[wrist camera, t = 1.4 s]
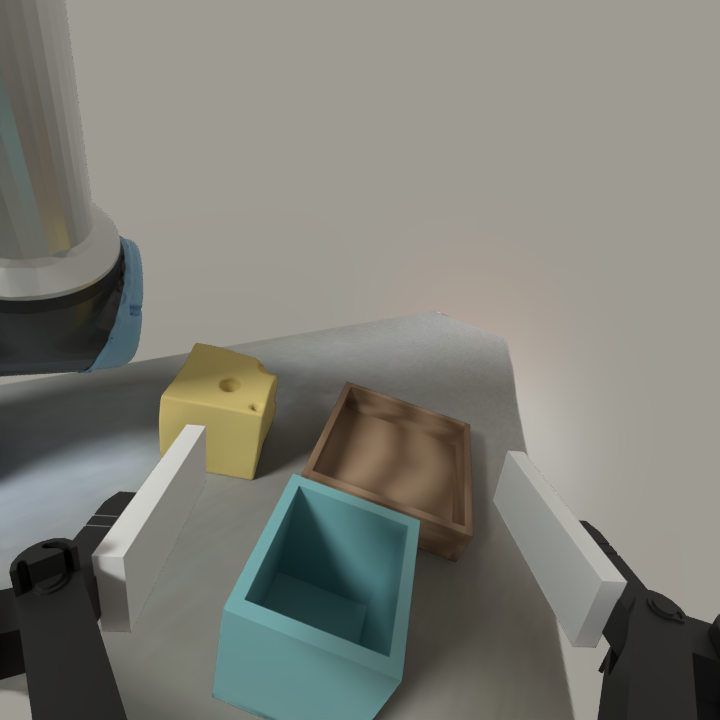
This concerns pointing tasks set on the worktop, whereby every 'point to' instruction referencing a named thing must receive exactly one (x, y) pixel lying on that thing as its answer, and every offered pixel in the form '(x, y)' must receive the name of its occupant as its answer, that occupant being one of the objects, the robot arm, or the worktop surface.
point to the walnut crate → (400, 464)
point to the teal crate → (319, 609)
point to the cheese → (221, 408)
